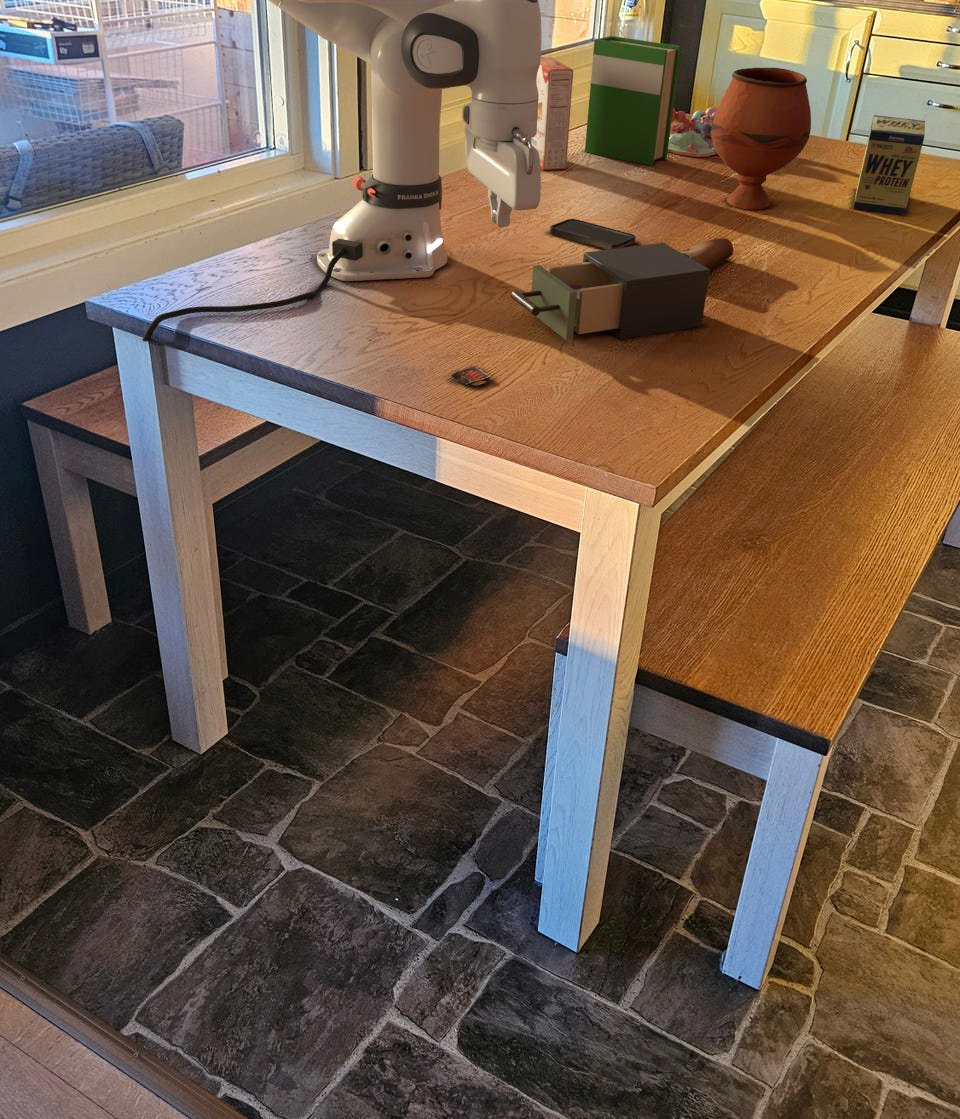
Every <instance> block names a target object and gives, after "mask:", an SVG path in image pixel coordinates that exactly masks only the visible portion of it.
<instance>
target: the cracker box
mask: <svg viewBox="0 0 960 1119" xmlns="http://www.w3.org/2000/svg"><path fill="white" fill-rule="evenodd" d="M573 79H574V69H573V68H571V67H569V66H568V65H566V64H564V63H562V62H560V61H559V60H557V59H555V58H554V57H552V56H541V62H540V66H539V69H538V73H537V88H538V93H539V100H538V117H537V134H536V136H534V137H533V138H531V140H532V141H531V143H532V146H533V147H535V148H536V149H537V151H538V153H539V157H540V168H541V171H555V170H556V171H557V170H567V161H568V149H569V135H570V123H571V122H570V121H571V120H570V119H571V107H572V106H571V105H572V92H573Z"/></svg>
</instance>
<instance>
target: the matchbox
mask: <svg viewBox="0 0 960 1119" xmlns="http://www.w3.org/2000/svg"><path fill="white" fill-rule="evenodd" d="M450 377H452V378H453V381H455V380H456V381H458V382H459V383H462V384H464V385H468V384H469V385H472V386H476V387H477V386H480V385H484V384H485V383H486V382H487V380H485V379H487V378H489V377H491V376H490V375H489V374H487V373H486V372H484V371H483V369H480V368H478V367H475V366H470V367H467V368H465V369H462V370H457V371H455V372H454V373H452V374H451V375H450ZM454 379H455V380H454ZM456 381H455V382H456Z"/></svg>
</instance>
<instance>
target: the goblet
mask: <svg viewBox="0 0 960 1119" xmlns="http://www.w3.org/2000/svg"><path fill="white" fill-rule="evenodd" d="M731 77H732V78H731V81H730V83H729V85H728V87H727V89H726V91H725V93H724V95H723V96H722V98H721V100H720V102H719V104H718V107H717V108H716V109H717V111H716V113H715V116H714V120H713V124H712V131H711V136H712V141H713V144H714V147H715V149H716V151H717V153H718V154H717V155H718V156H719V158H720V160H722V162H723V163H724V164H725V165H726V166H727V167H728V168H730V169H731V170H733V171H734V172H735V173H737V176H736V180H737V181H738V183H739V185H738V186H737V187H736V189H734V190H733V192H731V193H730V194H729V196H728V197H727V199H726V201H727V203H728V204H729V205H730V206H732V207H734V208H738V209H742V210H752V211H754V210H764V209H767V208H768V207H769V206H771V200H770V198H769V196H768V194H767V193H766V191H765V189H764V188H763V184H764V183H765V182H766V180H767V176H770V175H771V174H773V173H776V172H777V171H780V170H781V169H783V168H785V167H786V166H788V165H789V164H791V162H792V161H793V160H795V159H796V158H797V157H798V156H799V155H800V154H801V152H802V151H803V150H804V149H805V147H806V146H807V143H808V141H809V140H810V139H809V138H810V135H811V130H812V112H811V105H810V99H809V94H808V88H807V82H808V79H807V77H806V76H805V75H804V74H802V73H800V72H797V71H794V70H790V69H786V68H780V67H749V68H748V67H747V68H745V67H744V68H739V69H736V70H734V71H733V72H732V74H731Z"/></svg>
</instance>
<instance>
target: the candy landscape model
mask: <svg viewBox="0 0 960 1119" xmlns="http://www.w3.org/2000/svg"><path fill="white" fill-rule="evenodd" d="M716 111H717V108H716V106H710V107H708V108H707V109H706V110H705V111H702V110H696V111H695V112H694V113H693V114H692V116H691V118H690V119H688V118H687V113H686V111H684V110H679V111H677V110H676V109H675V107H673V114H672V121H671V124H672V123H674V122H675V121H676V122H677V123H678V124H679V125H678V124H677V125H674V126H671V129H670V137H669V145H668V152H667V153H671V154H675V155H678V156H679V155H680V156H685V157H686V156H687V157H693V158H703V157H710V156H715V155H718V153H717V151H716V149H715V147H714V144H713V141H712V136H711V131H712V124H713V120H714V116H715V113H716Z"/></svg>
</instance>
